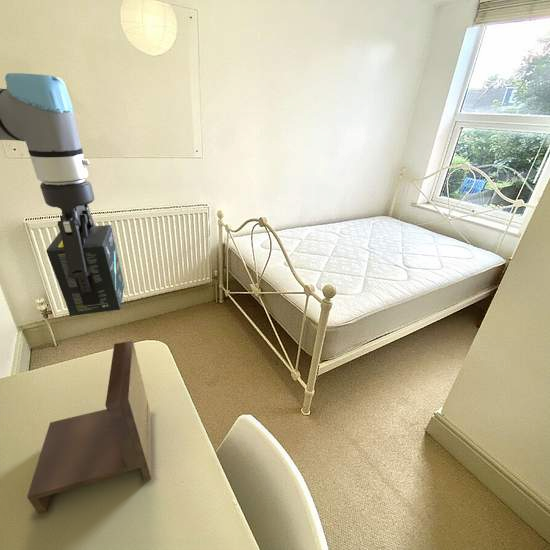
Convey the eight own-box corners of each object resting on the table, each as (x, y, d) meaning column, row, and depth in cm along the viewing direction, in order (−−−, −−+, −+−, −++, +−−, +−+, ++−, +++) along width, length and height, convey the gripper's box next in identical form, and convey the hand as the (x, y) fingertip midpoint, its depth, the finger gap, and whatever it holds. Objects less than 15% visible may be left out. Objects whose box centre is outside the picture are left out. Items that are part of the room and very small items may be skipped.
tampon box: (80, 288, 68) (60, 226, 61) (125, 283, 71) (111, 223, 64) (68, 318, 59) (43, 249, 52) (120, 310, 62) (103, 244, 55)
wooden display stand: (39, 515, 52) (-18, 433, 41) (59, 440, 64) (19, 360, 53) (151, 480, 58) (128, 399, 47) (151, 417, 69) (132, 340, 58)
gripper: (77, 197, 45) (110, 317, 56) (97, 167, 64) (119, 261, 75) (15, 200, 42) (62, 325, 53) (55, 168, 61) (84, 265, 72)
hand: (96, 287), depth 64 cm, fingers closed on tampon box, 11 cm apart
